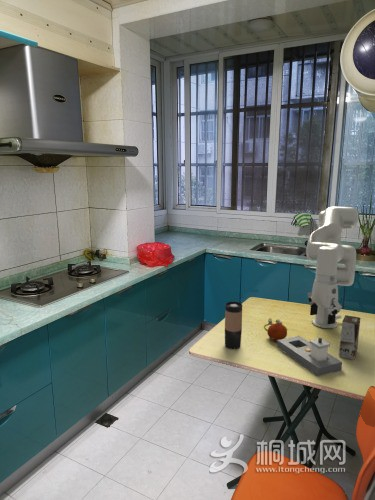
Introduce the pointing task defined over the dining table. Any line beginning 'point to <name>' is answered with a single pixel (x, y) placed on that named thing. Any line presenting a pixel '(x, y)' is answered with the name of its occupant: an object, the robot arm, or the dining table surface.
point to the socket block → (308, 356)
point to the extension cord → (276, 322)
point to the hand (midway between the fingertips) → (322, 319)
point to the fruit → (277, 331)
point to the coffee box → (349, 337)
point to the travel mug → (233, 325)
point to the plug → (319, 349)
